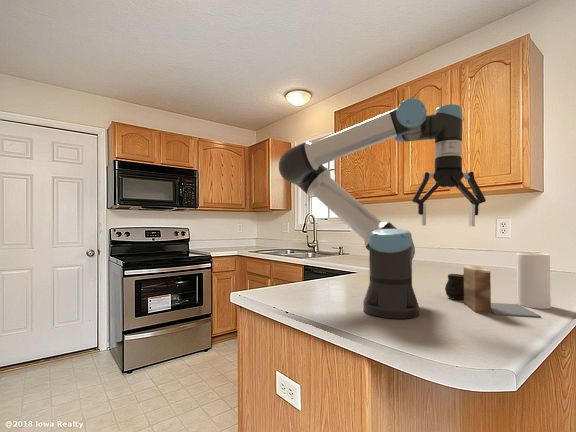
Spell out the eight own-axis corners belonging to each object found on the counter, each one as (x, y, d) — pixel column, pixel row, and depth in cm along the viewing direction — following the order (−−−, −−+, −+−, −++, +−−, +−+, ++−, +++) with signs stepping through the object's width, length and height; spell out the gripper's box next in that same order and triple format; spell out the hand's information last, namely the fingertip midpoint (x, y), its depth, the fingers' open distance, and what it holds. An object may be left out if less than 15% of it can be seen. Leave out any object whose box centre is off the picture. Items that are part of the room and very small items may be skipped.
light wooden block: (475, 312, 90) (474, 270, 90) (464, 303, 100) (463, 265, 100) (490, 313, 89) (490, 270, 89) (478, 304, 99) (477, 266, 99)
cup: (543, 303, 101) (542, 253, 101) (556, 309, 93) (555, 255, 93) (513, 301, 103) (512, 252, 104) (522, 307, 96) (521, 254, 96)
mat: (495, 314, 88) (495, 313, 88) (478, 303, 100) (478, 302, 100) (540, 317, 85) (540, 316, 85) (517, 305, 98) (517, 304, 98)
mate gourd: (440, 296, 110) (440, 267, 110) (460, 296, 111) (460, 267, 111) (453, 301, 103) (453, 270, 103) (475, 301, 104) (475, 270, 104)
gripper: (407, 155, 96) (406, 225, 96) (498, 153, 91) (498, 226, 91) (403, 160, 104) (402, 224, 103) (488, 158, 98) (487, 226, 98)
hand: (447, 226), depth 97 cm, fingers open, 13 cm apart
